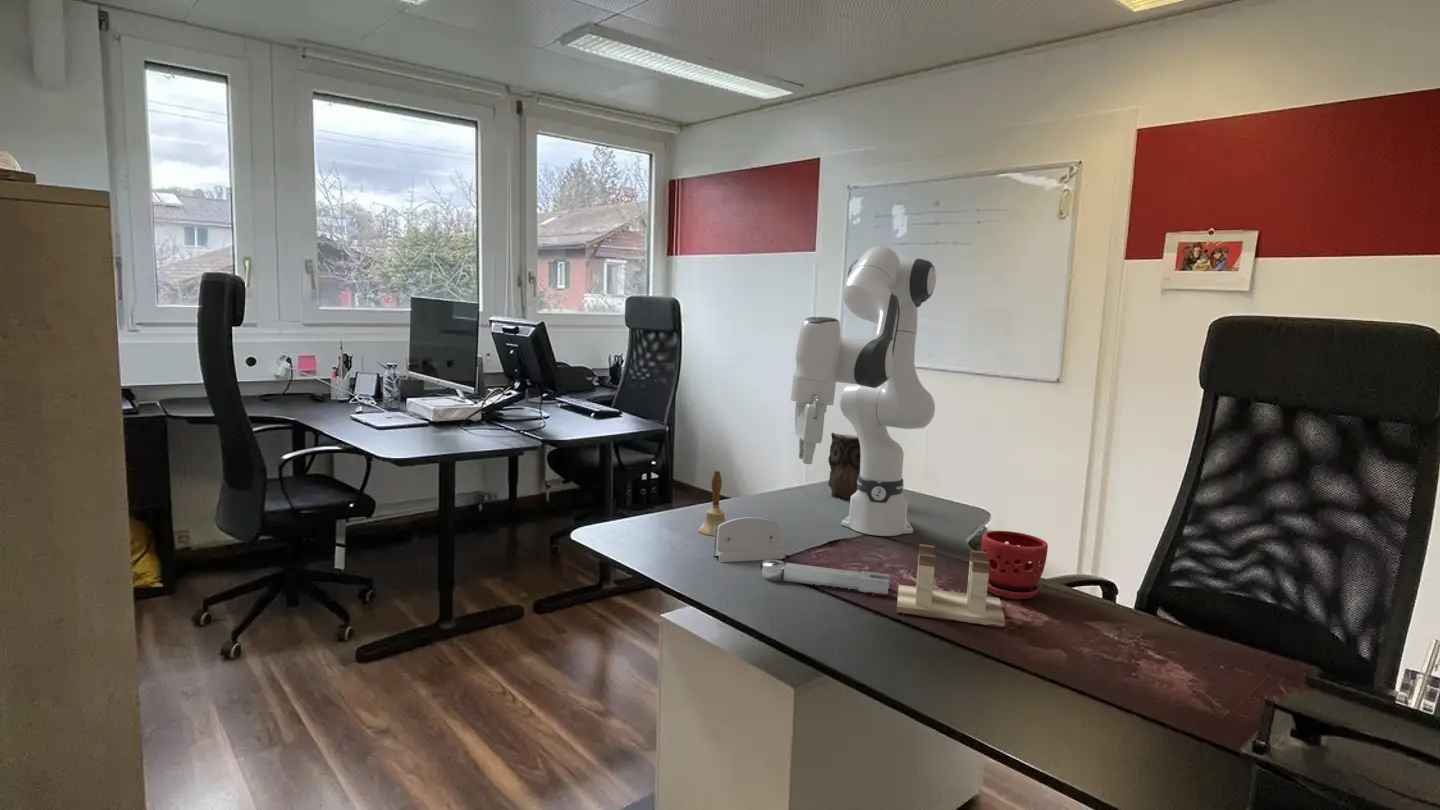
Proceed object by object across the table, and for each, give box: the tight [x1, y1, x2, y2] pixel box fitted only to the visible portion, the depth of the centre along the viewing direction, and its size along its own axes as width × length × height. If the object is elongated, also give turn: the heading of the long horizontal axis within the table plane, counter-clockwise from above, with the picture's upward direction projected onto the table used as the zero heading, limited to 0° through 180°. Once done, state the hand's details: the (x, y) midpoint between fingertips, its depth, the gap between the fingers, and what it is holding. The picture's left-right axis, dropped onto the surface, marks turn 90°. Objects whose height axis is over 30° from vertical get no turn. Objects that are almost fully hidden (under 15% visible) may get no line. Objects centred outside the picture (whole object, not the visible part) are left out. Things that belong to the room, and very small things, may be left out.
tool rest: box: [896, 543, 1006, 626], centre depth 153 cm, size 12×20×12 cm, turn 75°
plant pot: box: [980, 530, 1049, 600], centre depth 165 cm, size 13×13×12 cm
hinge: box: [712, 516, 786, 563], centre depth 181 cm, size 17×5×10 cm, turn 106°
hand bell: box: [697, 470, 726, 537], centre depth 198 cm, size 8×8×16 cm
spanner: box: [761, 559, 891, 595], centre depth 165 cm, size 27×5×3 cm, turn 75°
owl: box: [828, 432, 860, 501], centre depth 238 cm, size 13×13×20 cm
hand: (804, 461), depth 160 cm, fingers open, 8 cm apart
